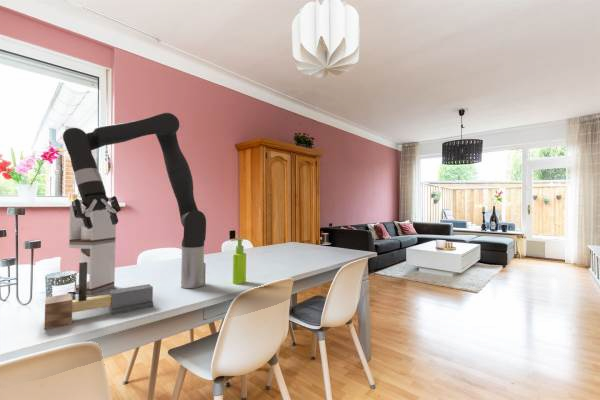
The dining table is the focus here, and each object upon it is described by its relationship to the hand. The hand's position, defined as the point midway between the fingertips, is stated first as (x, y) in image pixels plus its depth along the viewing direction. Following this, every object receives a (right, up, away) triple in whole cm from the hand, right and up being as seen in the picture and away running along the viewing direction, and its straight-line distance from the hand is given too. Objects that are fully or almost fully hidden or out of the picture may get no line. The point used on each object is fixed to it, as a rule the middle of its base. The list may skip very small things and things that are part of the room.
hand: (103, 226), depth 101 cm
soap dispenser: (+41, -29, +30) cm, 59 cm away
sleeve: (+12, -28, -4) cm, 30 cm away
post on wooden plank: (+4, -25, -10) cm, 27 cm away
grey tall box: (-17, -28, +18) cm, 37 cm away
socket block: (-2, -27, -16) cm, 32 cm away
